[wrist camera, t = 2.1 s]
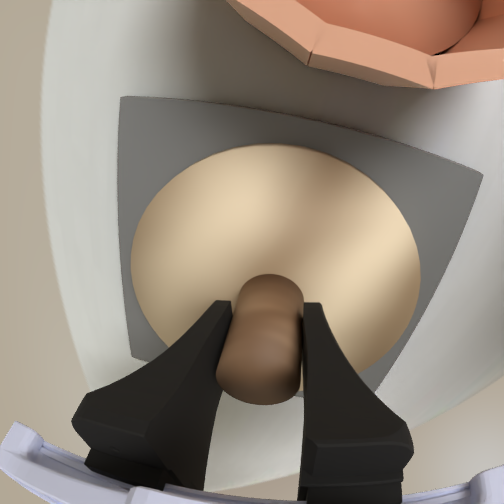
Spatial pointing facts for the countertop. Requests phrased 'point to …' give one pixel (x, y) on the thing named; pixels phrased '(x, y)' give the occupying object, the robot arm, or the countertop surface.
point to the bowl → (388, 38)
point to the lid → (276, 261)
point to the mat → (294, 133)
